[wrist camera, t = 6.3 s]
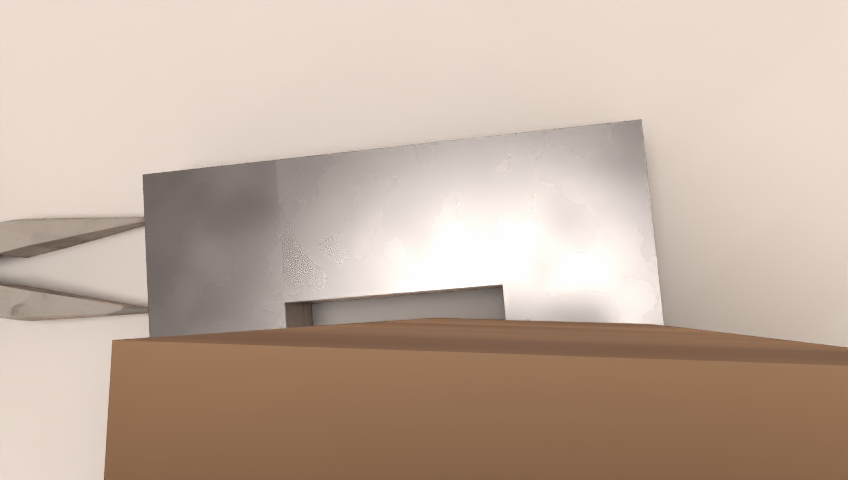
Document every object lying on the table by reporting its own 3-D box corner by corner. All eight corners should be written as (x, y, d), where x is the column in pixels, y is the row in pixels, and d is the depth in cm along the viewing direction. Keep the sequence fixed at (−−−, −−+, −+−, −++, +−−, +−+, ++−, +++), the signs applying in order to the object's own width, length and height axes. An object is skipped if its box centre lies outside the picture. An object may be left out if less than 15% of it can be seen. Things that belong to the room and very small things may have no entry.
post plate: (683, 635, 21) (701, 678, 19) (204, 645, 23) (164, 684, 21) (630, 139, 23) (641, 119, 20) (182, 187, 25) (142, 174, 22)
